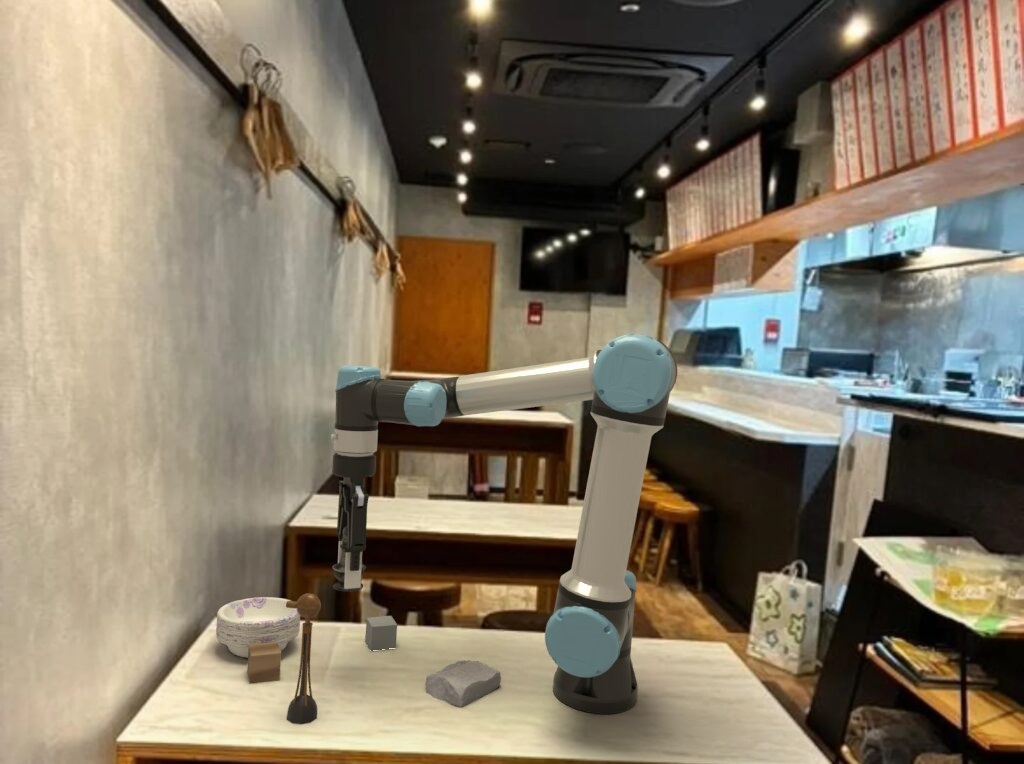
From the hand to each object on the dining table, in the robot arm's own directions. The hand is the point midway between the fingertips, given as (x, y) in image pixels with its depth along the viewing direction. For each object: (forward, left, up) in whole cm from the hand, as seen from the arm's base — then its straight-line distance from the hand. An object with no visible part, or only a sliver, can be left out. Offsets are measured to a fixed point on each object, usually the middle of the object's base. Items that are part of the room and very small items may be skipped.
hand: (348, 581), depth 132 cm
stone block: (-9, -19, -18) cm, 28 cm away
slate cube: (+12, -10, -18) cm, 23 cm away
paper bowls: (+16, +13, -18) cm, 27 cm away
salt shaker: (0, 0, -1) cm, 1 cm away
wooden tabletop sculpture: (-12, +9, -18) cm, 23 cm away
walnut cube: (+4, +13, -18) cm, 22 cm away
